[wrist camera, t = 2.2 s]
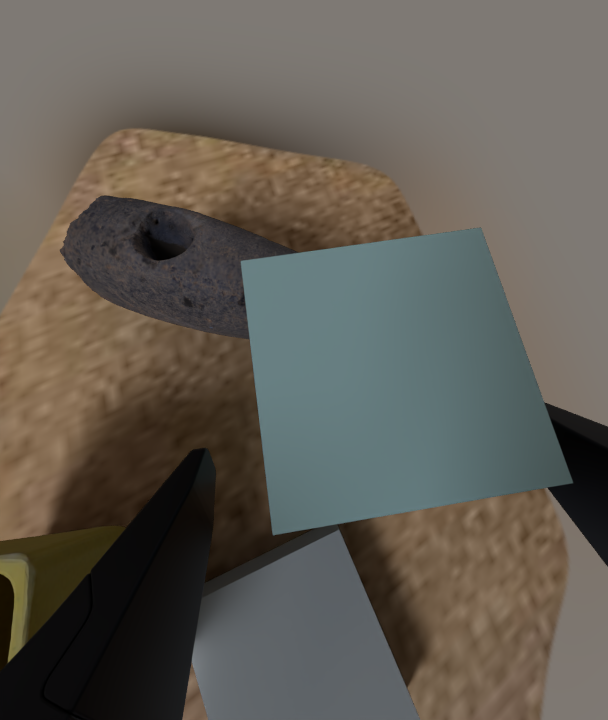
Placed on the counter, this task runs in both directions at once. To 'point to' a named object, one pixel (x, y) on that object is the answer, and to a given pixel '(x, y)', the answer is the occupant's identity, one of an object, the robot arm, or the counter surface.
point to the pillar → (392, 381)
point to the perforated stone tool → (166, 262)
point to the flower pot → (43, 579)
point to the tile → (296, 640)
